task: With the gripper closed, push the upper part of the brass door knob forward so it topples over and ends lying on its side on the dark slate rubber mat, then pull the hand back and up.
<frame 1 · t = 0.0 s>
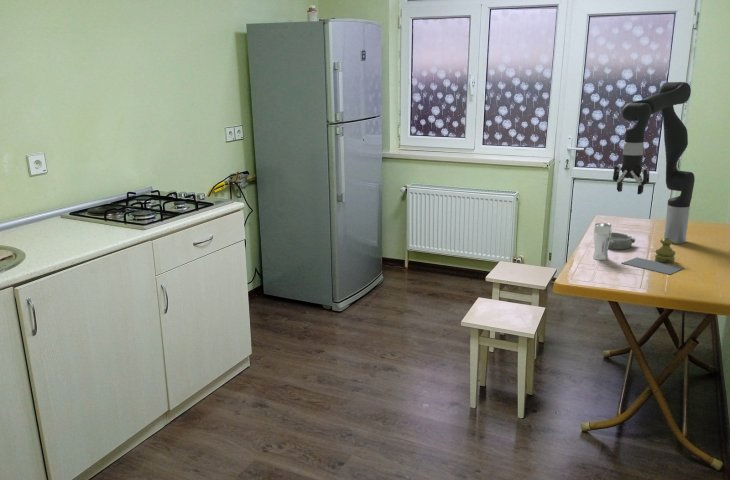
hand: (629, 192, 242), 29 cm above the table, tool pointing down, fingers open, 8 cm apart
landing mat: (652, 266, 242), on the table
brass door knob: (664, 261, 248), on the table
beer glass: (600, 258, 254), on the table
dish: (616, 246, 272), on the table
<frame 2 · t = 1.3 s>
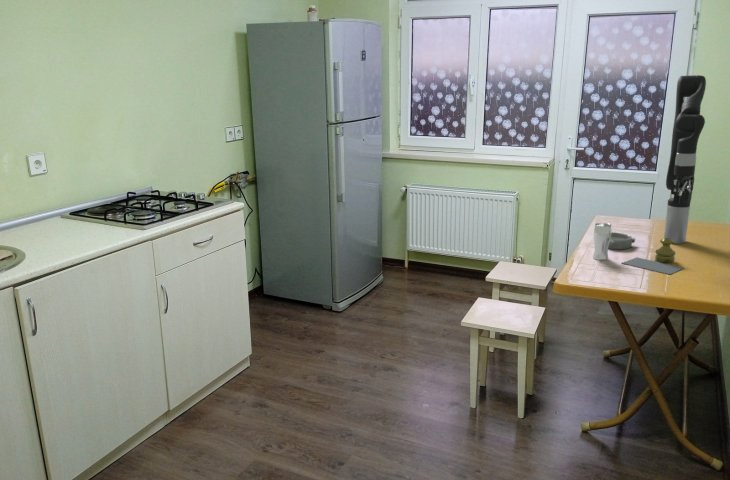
hand: (680, 202, 247), 24 cm above the table, tool pointing down, fingers open, 7 cm apart
nothing on the table moved.
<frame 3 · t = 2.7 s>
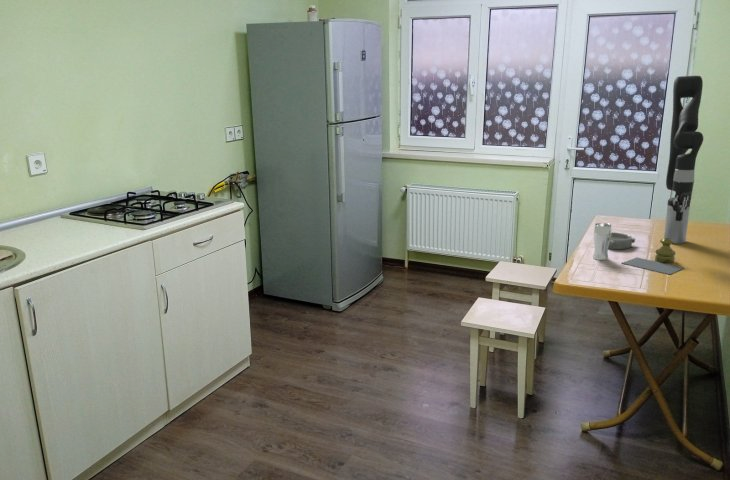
hand: (678, 220, 248), 16 cm above the table, tool pointing down, fingers closed
nothing on the table moved.
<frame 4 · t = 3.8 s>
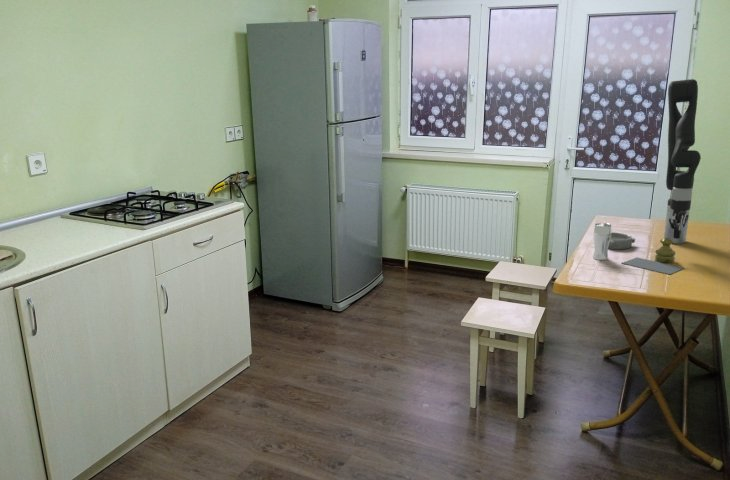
hand: (676, 238, 250), 9 cm above the table, tool pointing down, fingers closed
nothing on the table moved.
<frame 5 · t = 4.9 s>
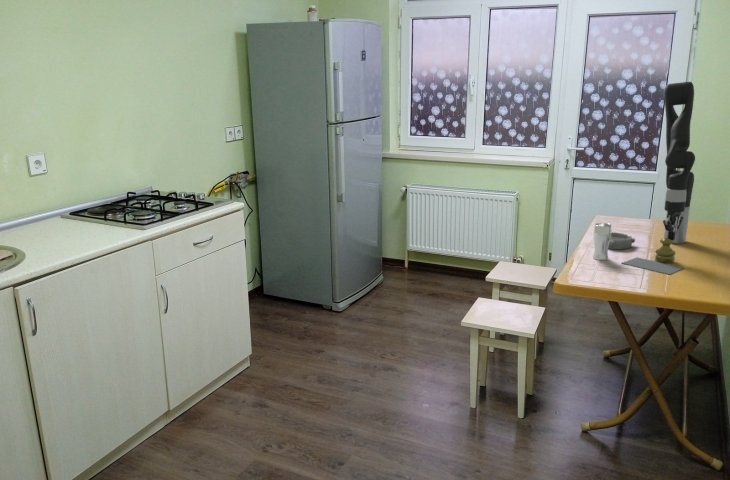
hand: (671, 239, 247), 9 cm above the table, tool pointing down, fingers closed
brass door knob: (664, 261, 248), on the table, touching gripper
everything else where it was.
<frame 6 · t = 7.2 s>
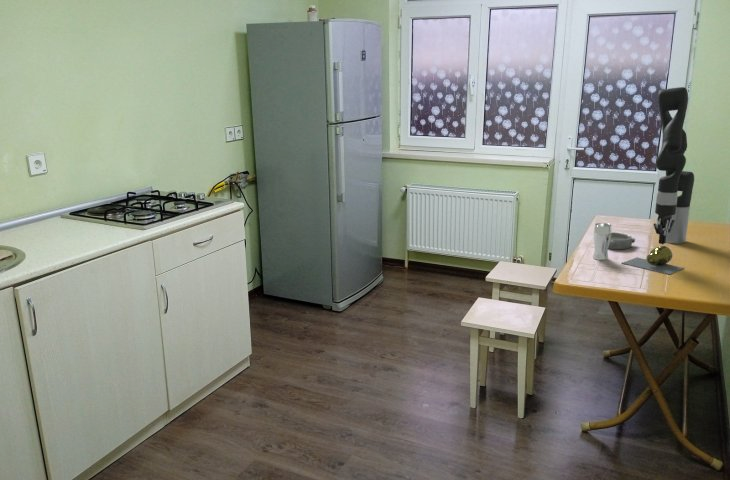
hand: (661, 243, 243), 8 cm above the table, tool pointing down, fingers closed
brass door knob: (664, 253, 243), point 4 cm above the table, touching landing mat
everything else where it was.
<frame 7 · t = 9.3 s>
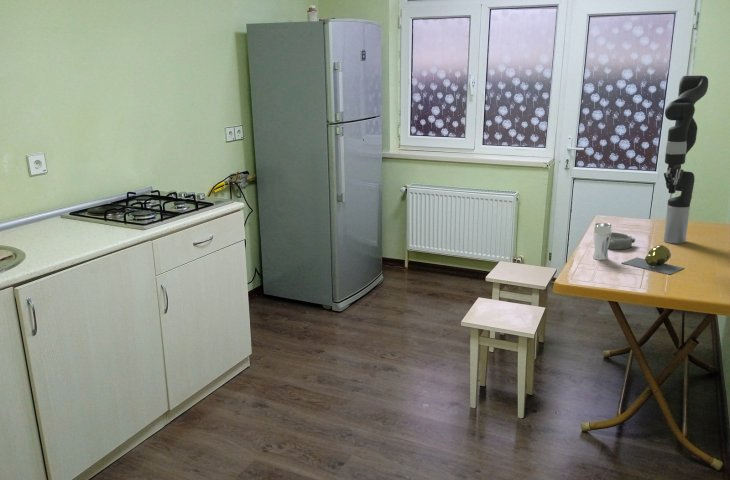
hand: (671, 193, 248), 28 cm above the table, tool pointing down, fingers closed
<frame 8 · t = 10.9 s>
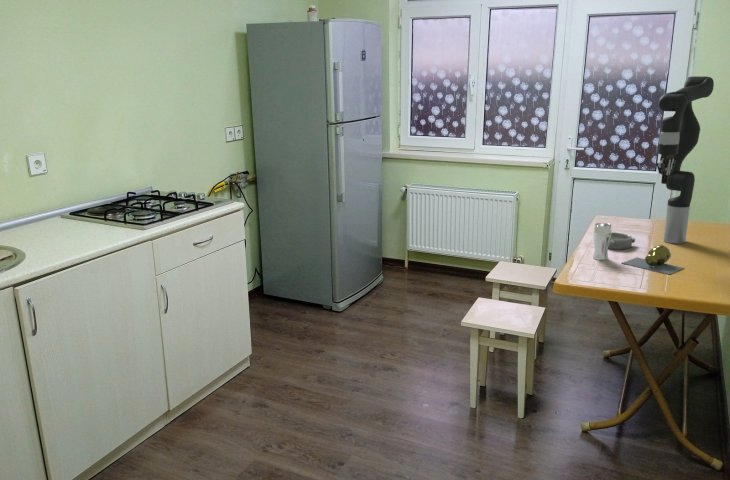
hand: (664, 183, 251), 31 cm above the table, tool pointing down, fingers closed
nothing on the table moved.
at the end: brass door knob tilted 100°; brass door knob touching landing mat; the gripper is holding nothing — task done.
